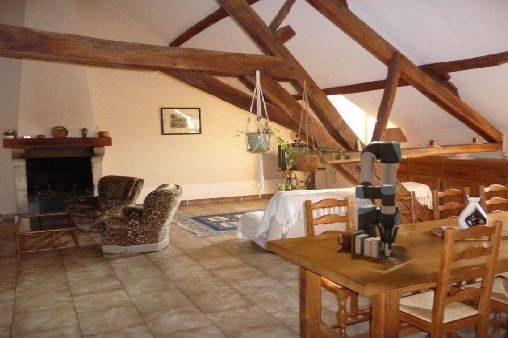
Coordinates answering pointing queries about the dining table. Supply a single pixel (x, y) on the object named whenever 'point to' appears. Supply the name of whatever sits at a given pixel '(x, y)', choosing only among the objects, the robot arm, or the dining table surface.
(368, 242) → the rust book
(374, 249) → the olive book
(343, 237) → the mug
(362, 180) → the robot arm
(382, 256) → the bookend
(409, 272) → the dining table surface
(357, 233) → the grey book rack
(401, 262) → the dining table surface
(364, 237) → the blue-grey block
